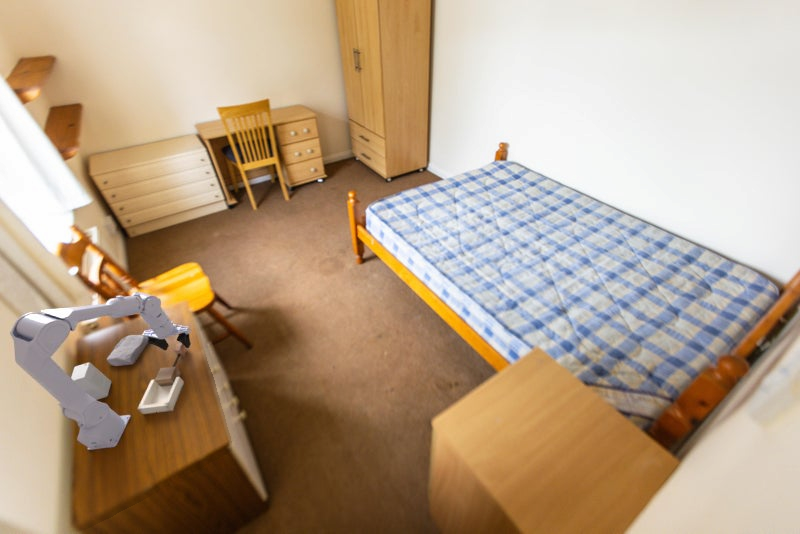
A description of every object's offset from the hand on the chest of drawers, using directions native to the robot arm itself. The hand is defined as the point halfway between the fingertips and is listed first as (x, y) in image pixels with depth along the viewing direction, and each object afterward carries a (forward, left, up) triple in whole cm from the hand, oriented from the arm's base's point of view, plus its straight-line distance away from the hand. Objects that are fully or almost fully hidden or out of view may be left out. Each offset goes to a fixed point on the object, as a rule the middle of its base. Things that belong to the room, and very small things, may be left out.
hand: (177, 347), depth 123 cm
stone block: (+4, +21, -5) cm, 21 cm away
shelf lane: (-16, 0, -4) cm, 17 cm away
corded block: (-6, 0, -4) cm, 7 cm away
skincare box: (-12, +22, -5) cm, 25 cm away
